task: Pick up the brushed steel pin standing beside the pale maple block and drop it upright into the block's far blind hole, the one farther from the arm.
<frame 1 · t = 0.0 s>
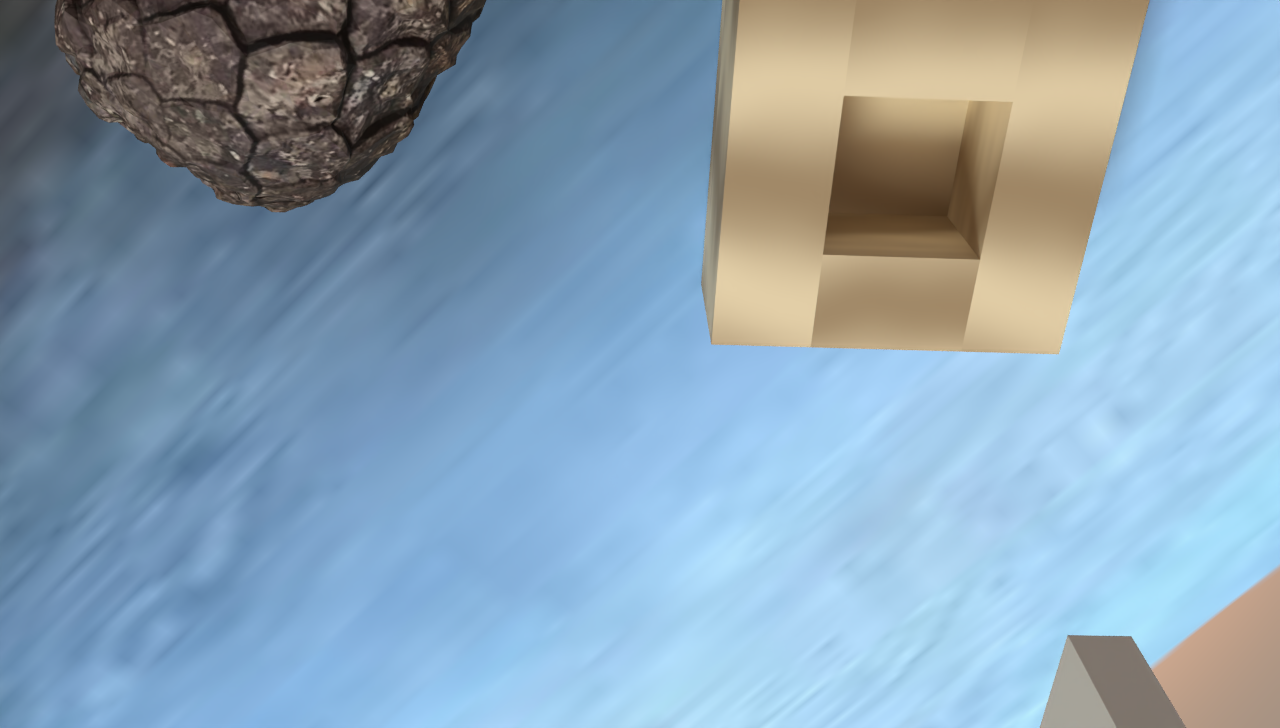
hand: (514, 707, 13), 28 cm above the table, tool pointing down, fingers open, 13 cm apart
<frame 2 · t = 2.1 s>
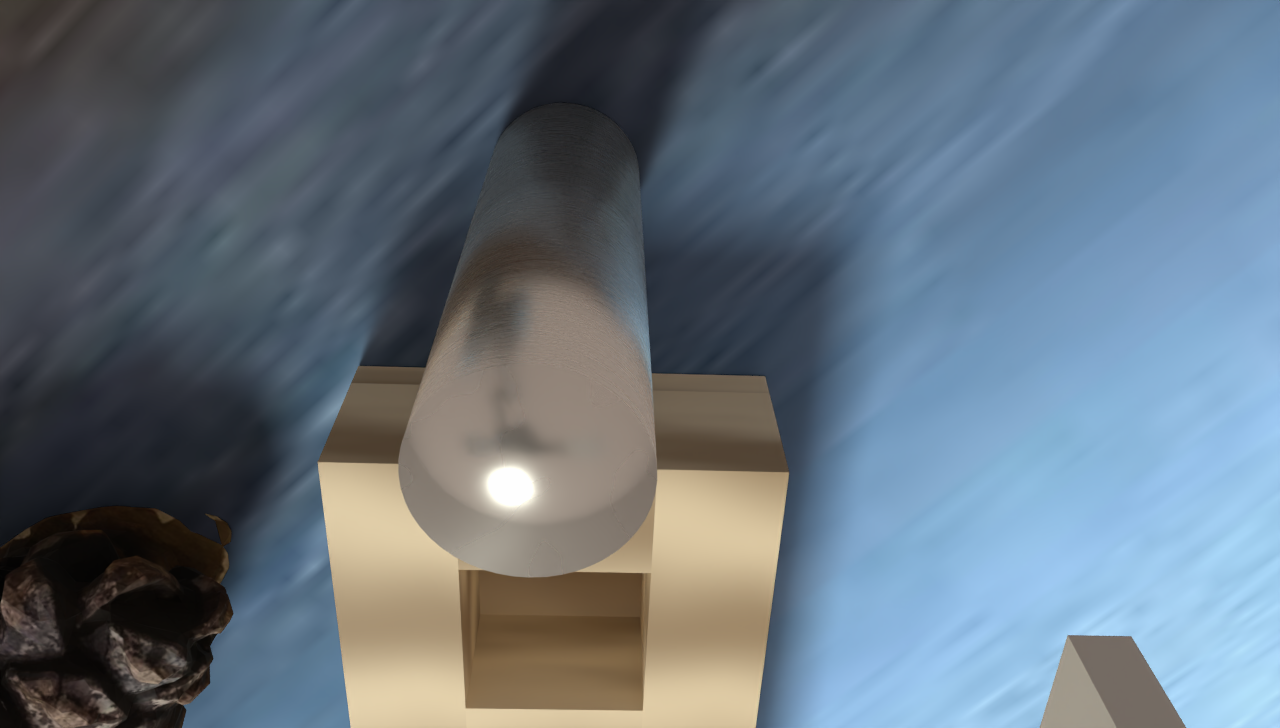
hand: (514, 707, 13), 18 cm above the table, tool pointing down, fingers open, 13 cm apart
steel pin: (564, 176, 29), on the table
pine cone: (49, 631, 37), on the table
hole block: (560, 669, 38), on the table
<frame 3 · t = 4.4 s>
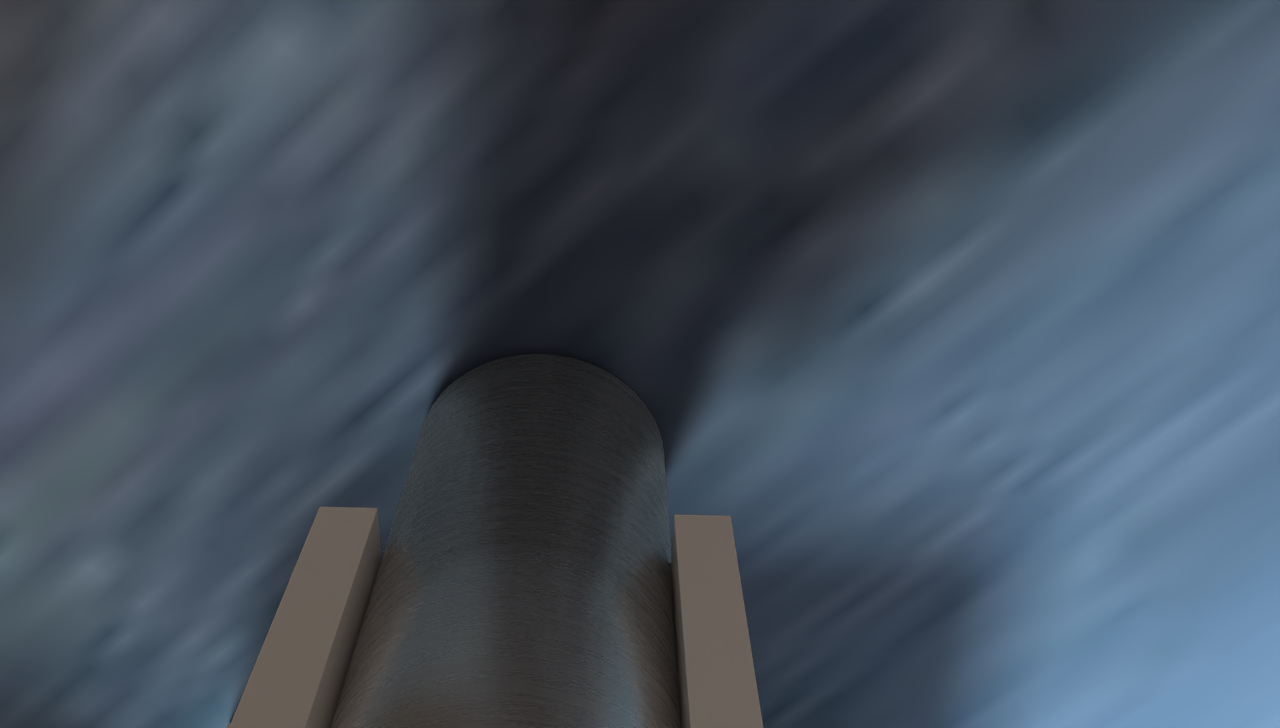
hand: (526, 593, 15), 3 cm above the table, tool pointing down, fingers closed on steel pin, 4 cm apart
steel pin: (541, 462, 17), on the table, touching gripper
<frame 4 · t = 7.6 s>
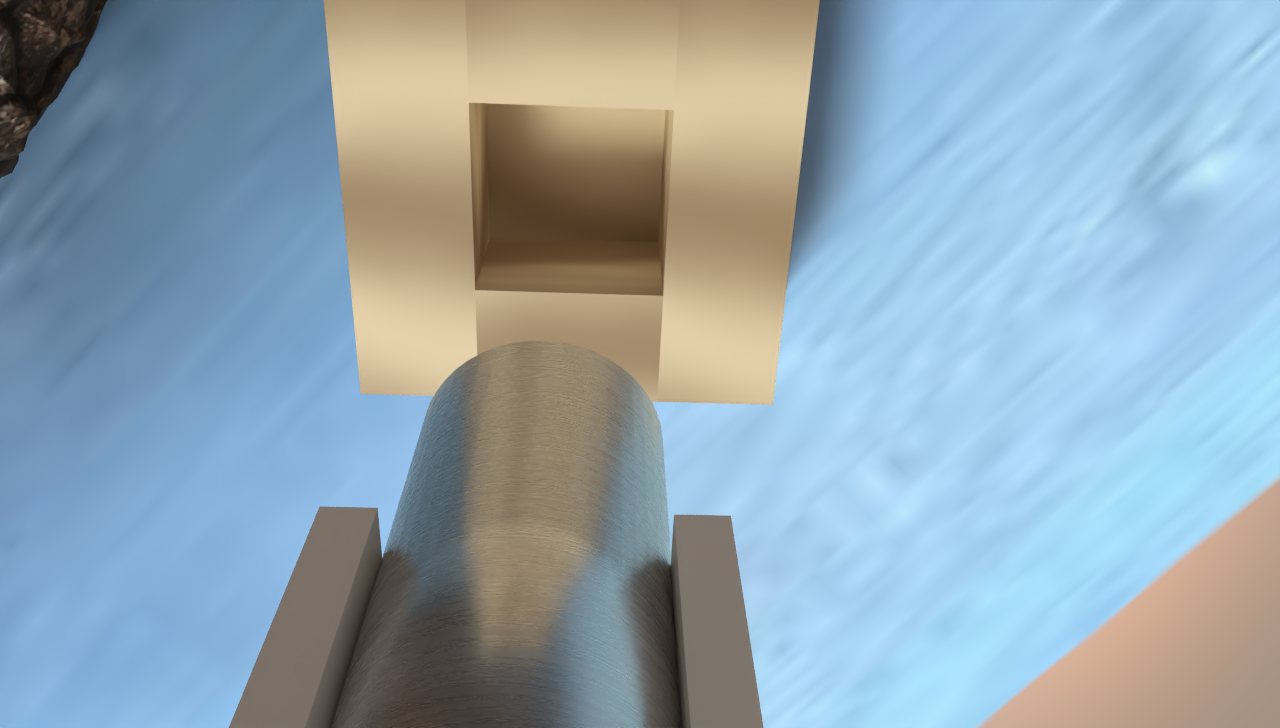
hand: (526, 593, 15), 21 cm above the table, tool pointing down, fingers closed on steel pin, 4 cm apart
steel pin: (543, 447, 18), point 17 cm above the table, touching gripper
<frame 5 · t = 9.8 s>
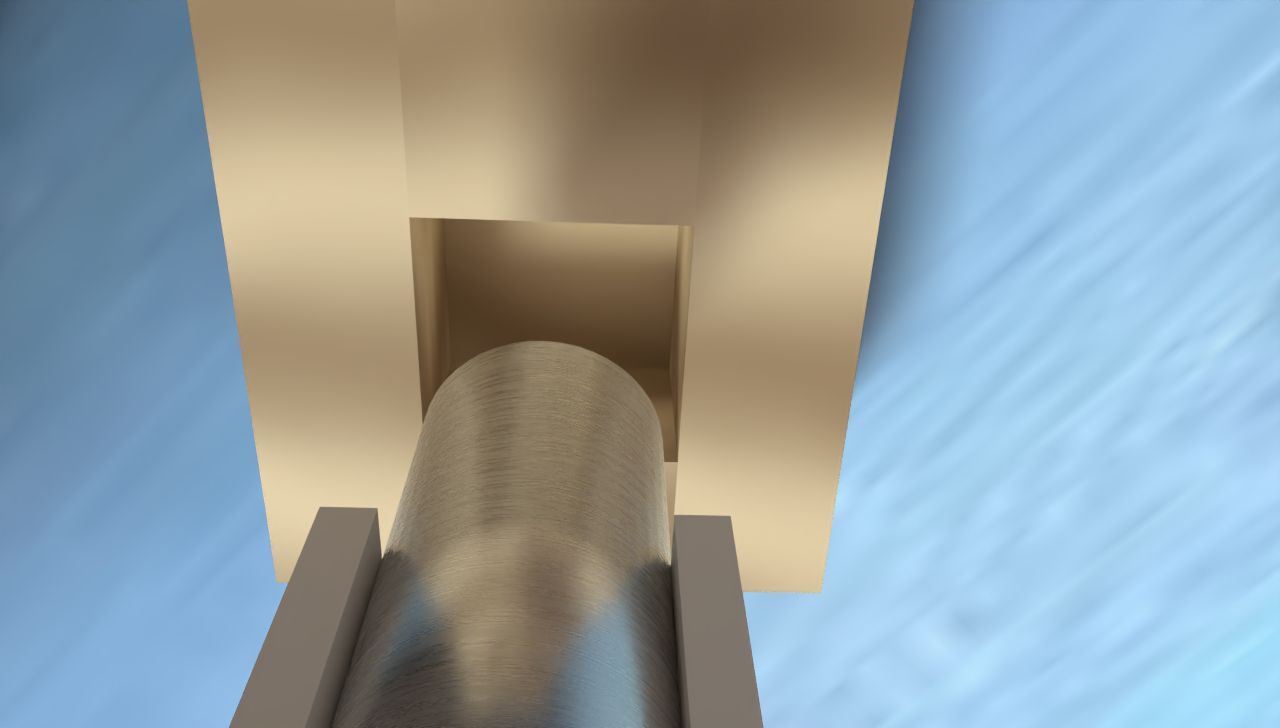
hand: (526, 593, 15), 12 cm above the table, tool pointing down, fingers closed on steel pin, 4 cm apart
steel pin: (543, 447, 18), point 8 cm above the table, touching gripper
when the fingers open (7 cm above the table, at t = 11.4 s): steel pin drops 1 cm, resting on hole block.
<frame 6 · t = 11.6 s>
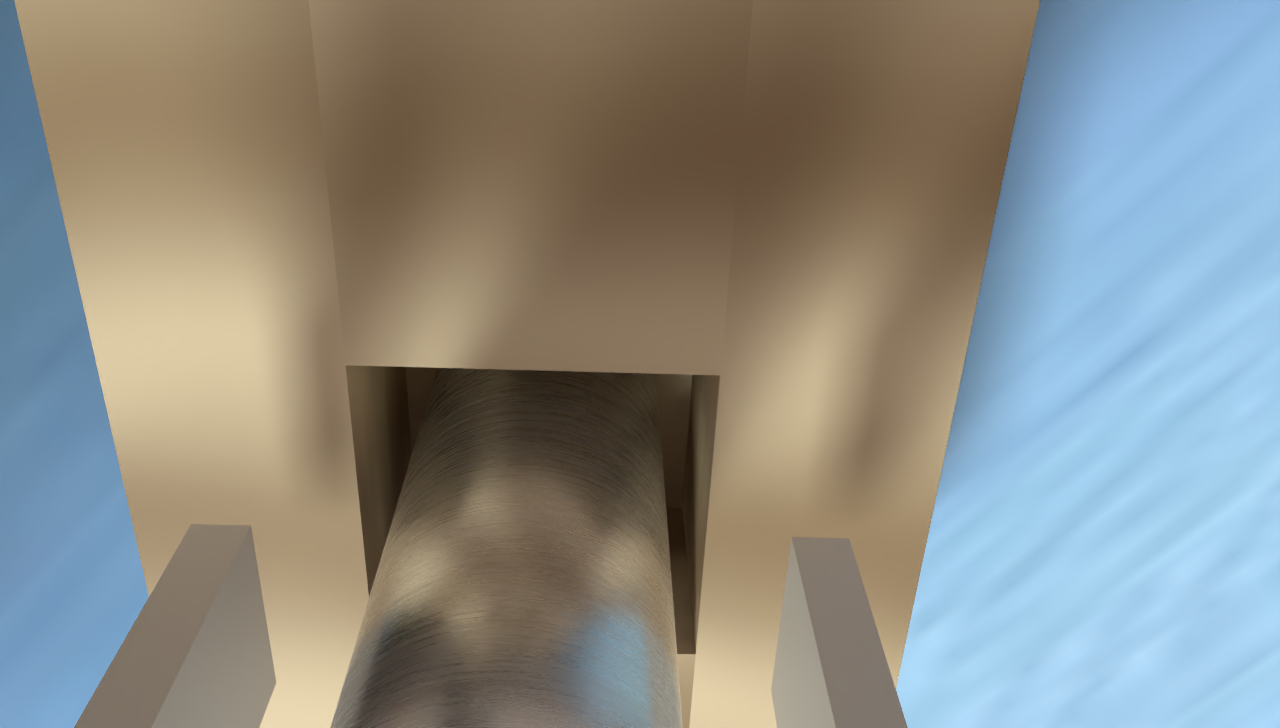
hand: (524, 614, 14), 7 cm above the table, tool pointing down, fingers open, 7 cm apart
steel pin: (547, 387, 20), point 1 cm above the table, touching hole block
hole block: (553, 44, 18), on the table
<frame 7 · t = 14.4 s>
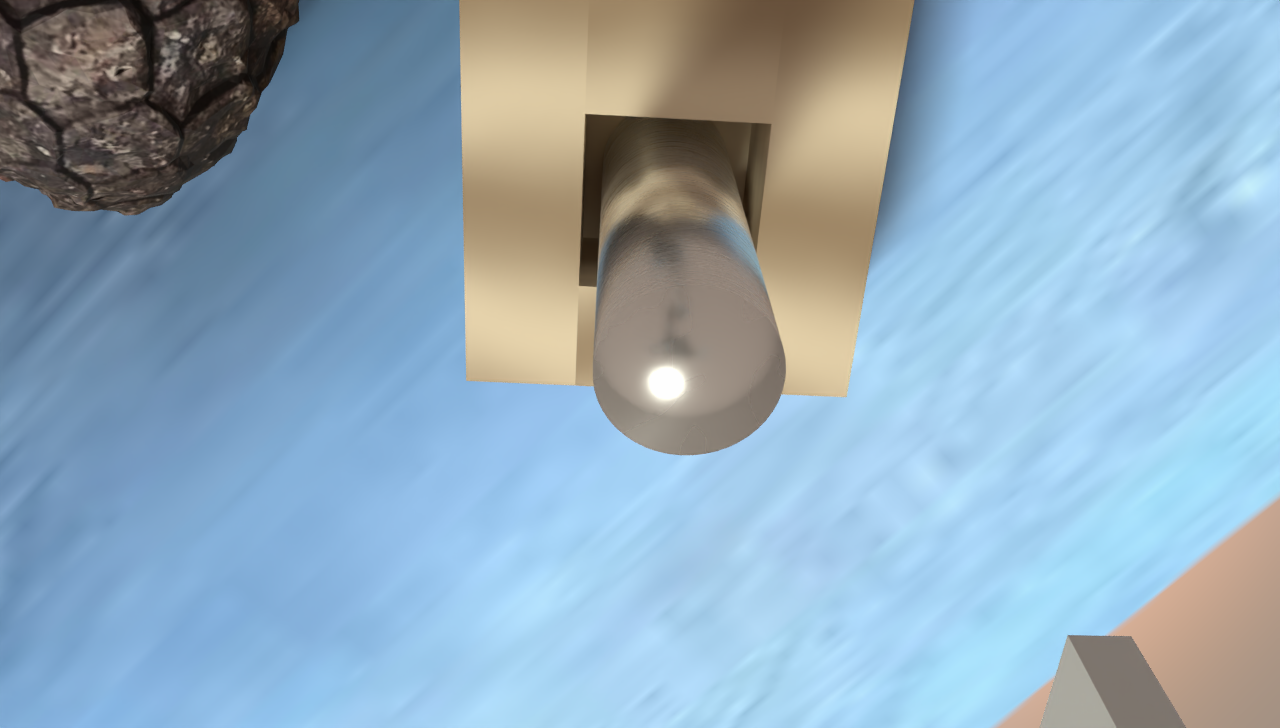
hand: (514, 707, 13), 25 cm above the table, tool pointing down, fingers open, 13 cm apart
steel pin: (665, 164, 35), point 1 cm above the table, touching hole block
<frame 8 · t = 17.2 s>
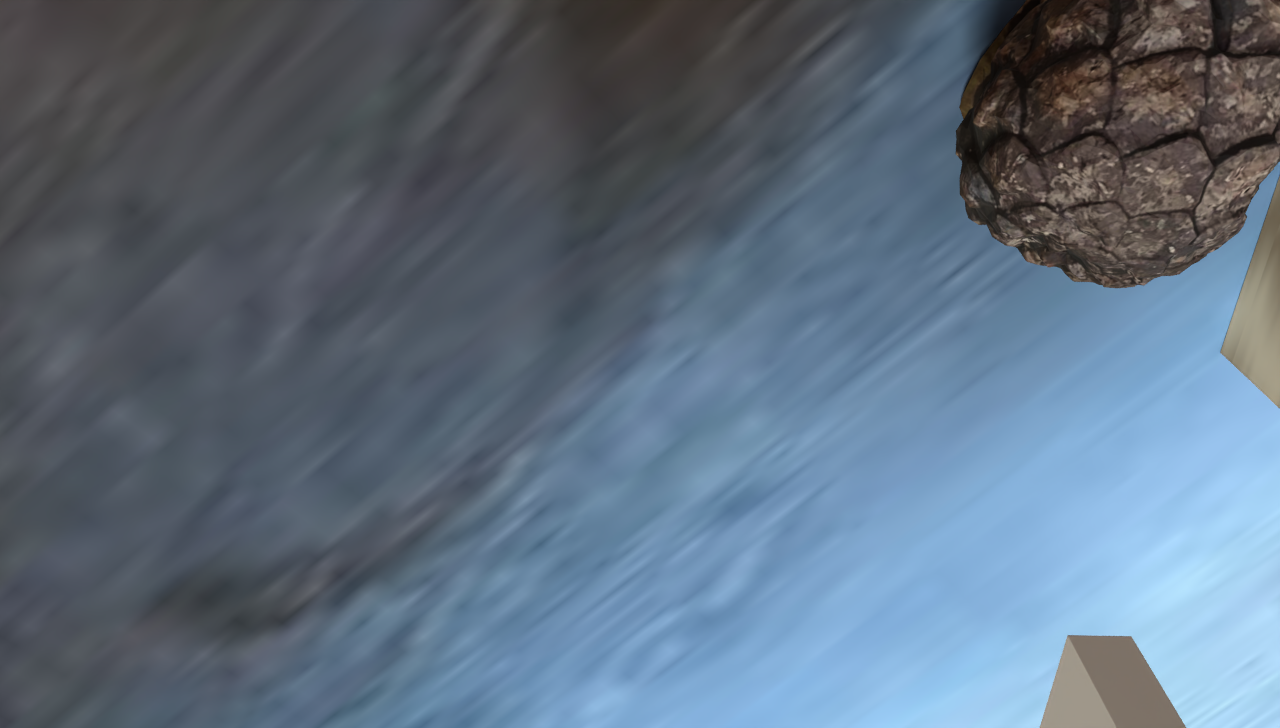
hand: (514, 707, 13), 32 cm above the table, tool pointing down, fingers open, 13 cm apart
pine cone: (1116, 9, 40), on the table
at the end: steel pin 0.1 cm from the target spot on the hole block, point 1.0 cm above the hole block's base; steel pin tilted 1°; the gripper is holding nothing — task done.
